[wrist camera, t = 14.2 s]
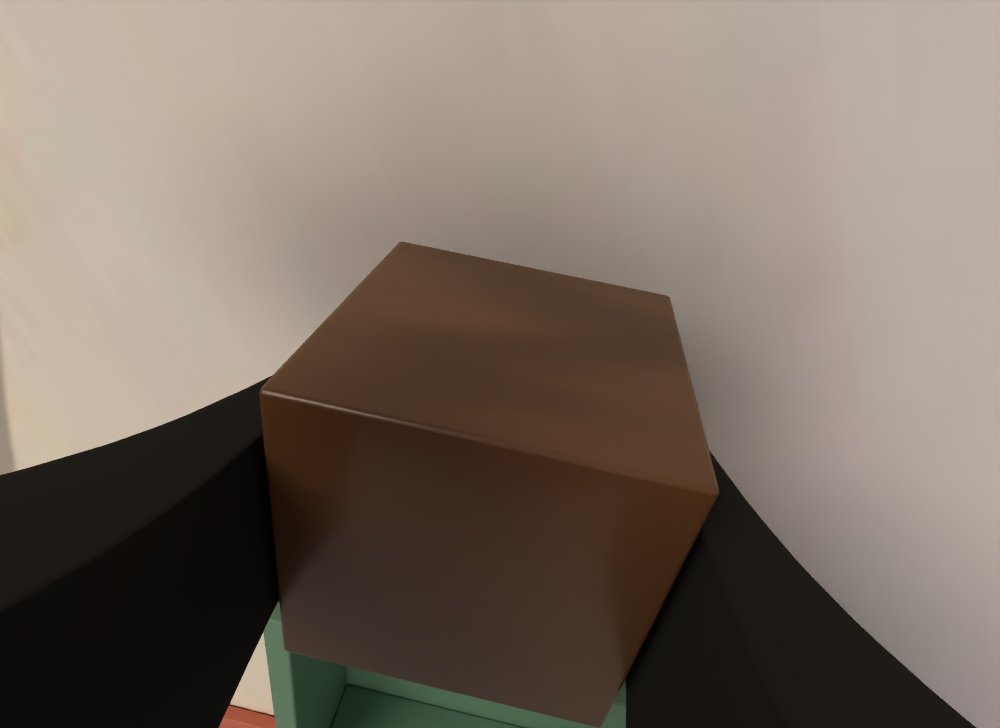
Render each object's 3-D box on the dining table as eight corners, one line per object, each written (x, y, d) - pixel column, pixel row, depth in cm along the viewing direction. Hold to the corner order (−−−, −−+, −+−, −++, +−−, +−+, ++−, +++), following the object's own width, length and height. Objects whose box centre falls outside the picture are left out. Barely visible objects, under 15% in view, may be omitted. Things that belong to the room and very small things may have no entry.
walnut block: (671, 294, 10) (723, 493, 6) (601, 494, 13) (601, 731, 8) (399, 239, 10) (256, 389, 6) (387, 446, 13) (281, 652, 9)
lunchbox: (834, 606, 17) (902, 773, 13) (709, 768, 23) (731, 915, 19) (332, 492, 18) (260, 618, 14) (335, 676, 24) (284, 800, 20)
